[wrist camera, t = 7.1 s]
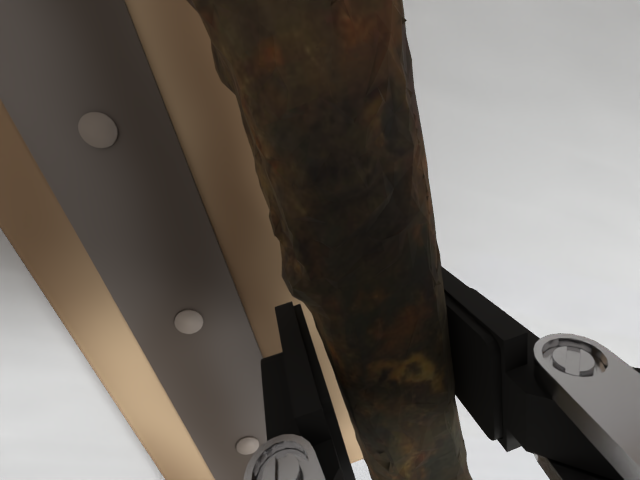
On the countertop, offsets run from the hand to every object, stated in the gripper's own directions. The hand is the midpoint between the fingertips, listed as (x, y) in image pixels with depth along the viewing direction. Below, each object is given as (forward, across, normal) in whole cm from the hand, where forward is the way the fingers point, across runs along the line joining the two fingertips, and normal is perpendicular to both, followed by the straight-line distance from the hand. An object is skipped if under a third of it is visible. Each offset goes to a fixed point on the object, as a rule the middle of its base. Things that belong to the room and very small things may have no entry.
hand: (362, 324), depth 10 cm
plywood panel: (+5, +3, 0) cm, 6 cm away
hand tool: (+1, -1, 0) cm, 1 cm away
